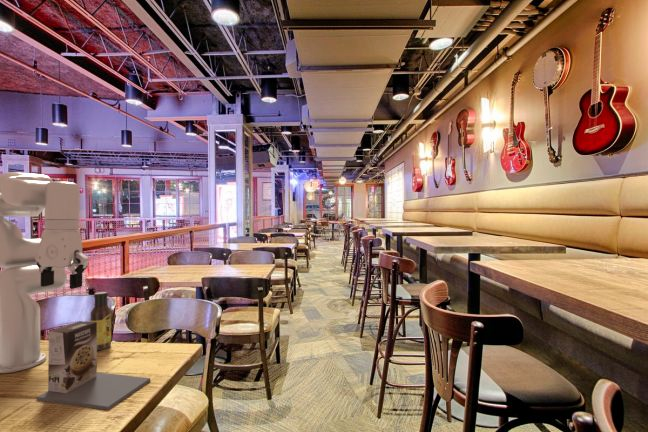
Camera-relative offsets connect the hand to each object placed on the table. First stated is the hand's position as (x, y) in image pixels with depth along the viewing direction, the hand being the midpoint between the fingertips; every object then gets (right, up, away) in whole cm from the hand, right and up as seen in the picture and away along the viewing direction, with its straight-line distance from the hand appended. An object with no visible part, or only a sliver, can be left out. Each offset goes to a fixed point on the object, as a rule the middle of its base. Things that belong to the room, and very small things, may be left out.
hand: (61, 286), depth 89 cm
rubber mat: (+12, -28, -3) cm, 30 cm away
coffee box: (+4, -27, -1) cm, 27 cm away
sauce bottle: (-7, -28, +26) cm, 39 cm away
